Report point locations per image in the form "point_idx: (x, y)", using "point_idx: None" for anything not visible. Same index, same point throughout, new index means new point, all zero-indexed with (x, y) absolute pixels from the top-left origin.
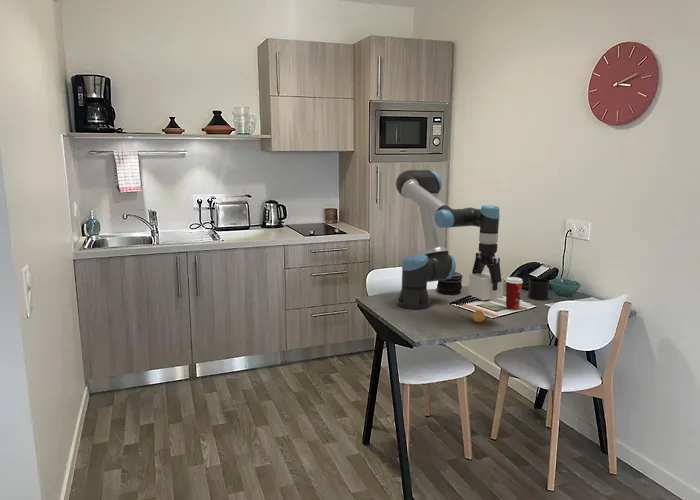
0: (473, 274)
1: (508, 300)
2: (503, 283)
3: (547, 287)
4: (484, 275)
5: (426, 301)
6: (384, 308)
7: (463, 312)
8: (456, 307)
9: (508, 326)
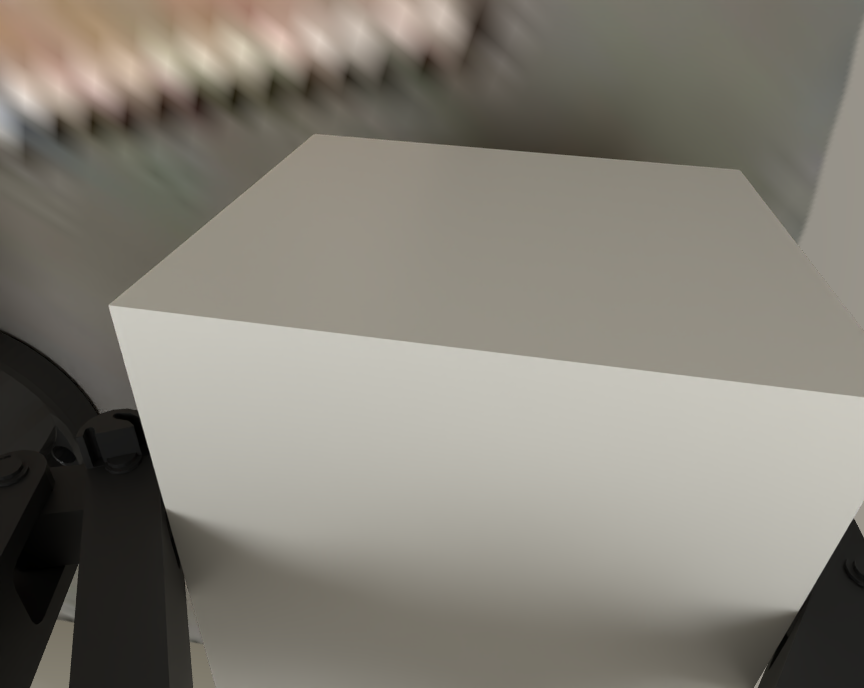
0: (262, 678)
1: None
2: (837, 306)
3: None
4: (411, 606)
5: (42, 425)
6: (75, 572)
7: (221, 197)
8: (62, 159)
9: (782, 59)
